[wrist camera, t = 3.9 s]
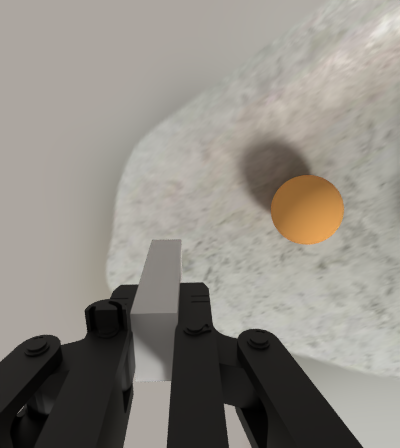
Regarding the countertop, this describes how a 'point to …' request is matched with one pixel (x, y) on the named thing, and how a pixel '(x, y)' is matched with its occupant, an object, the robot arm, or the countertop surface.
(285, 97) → the countertop surface
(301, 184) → the ball
